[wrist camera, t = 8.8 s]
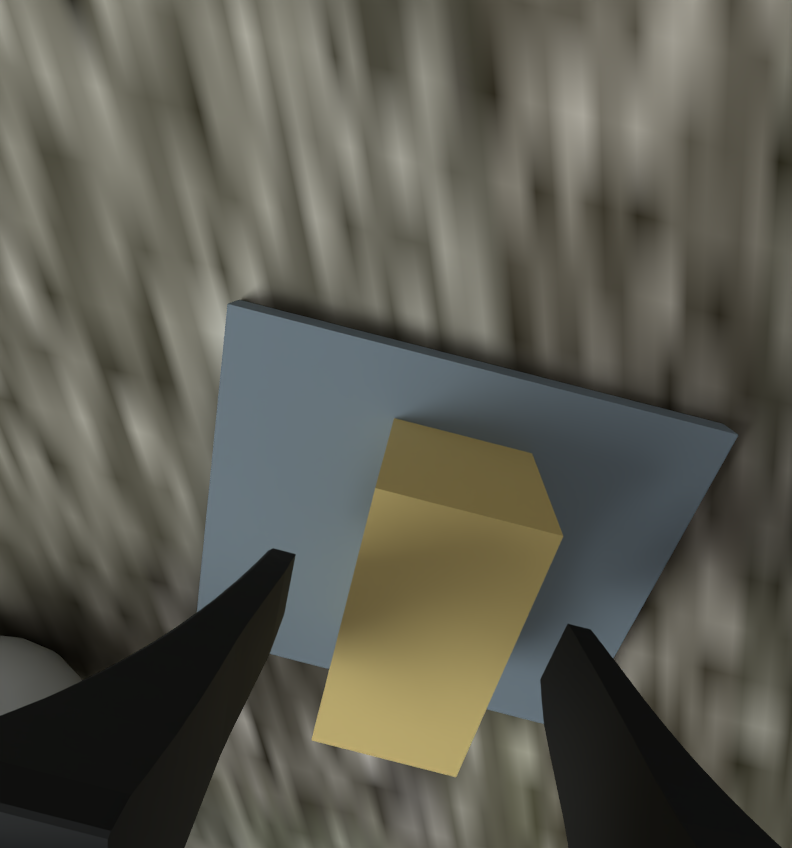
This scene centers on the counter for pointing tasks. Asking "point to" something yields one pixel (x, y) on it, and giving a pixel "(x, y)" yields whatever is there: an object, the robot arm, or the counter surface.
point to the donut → (30, 673)
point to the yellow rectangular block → (436, 596)
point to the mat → (453, 412)
